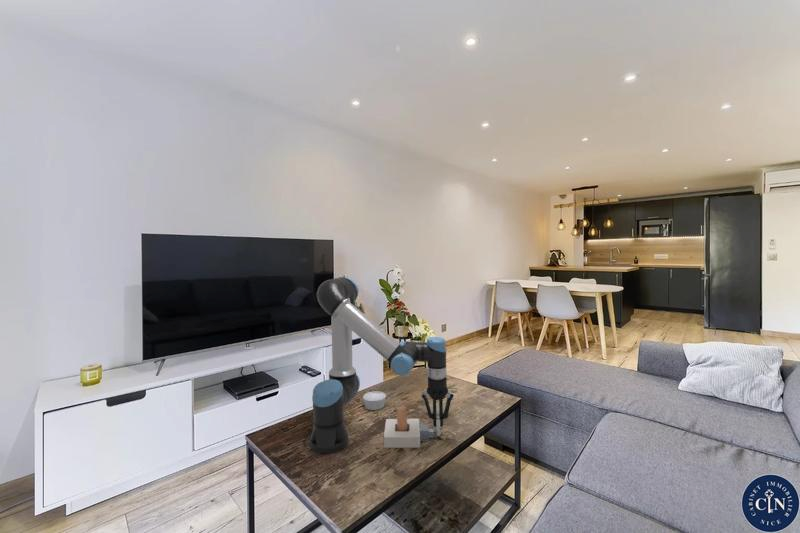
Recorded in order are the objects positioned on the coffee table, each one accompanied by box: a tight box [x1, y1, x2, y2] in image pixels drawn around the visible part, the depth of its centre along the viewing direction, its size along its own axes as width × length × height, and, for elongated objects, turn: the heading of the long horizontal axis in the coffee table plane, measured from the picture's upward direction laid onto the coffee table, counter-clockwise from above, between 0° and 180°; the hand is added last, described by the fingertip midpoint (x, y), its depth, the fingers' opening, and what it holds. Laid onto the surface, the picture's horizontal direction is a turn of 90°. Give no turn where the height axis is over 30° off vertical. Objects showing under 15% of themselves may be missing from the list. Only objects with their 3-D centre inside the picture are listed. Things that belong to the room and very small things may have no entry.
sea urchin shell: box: [429, 402, 446, 417], centre depth 156 cm, size 9×8×8 cm
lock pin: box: [429, 426, 438, 439], centre depth 138 cm, size 10×3×3 cm, turn 88°
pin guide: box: [419, 423, 430, 442], centre depth 138 cm, size 4×5×4 cm
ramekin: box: [362, 390, 387, 411], centre depth 166 cm, size 11×11×5 cm
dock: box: [383, 418, 421, 449], centre depth 138 cm, size 14×14×4 cm
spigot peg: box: [396, 405, 408, 431], centre depth 138 cm, size 4×4×12 cm
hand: (438, 433), depth 137 cm, fingers closed
